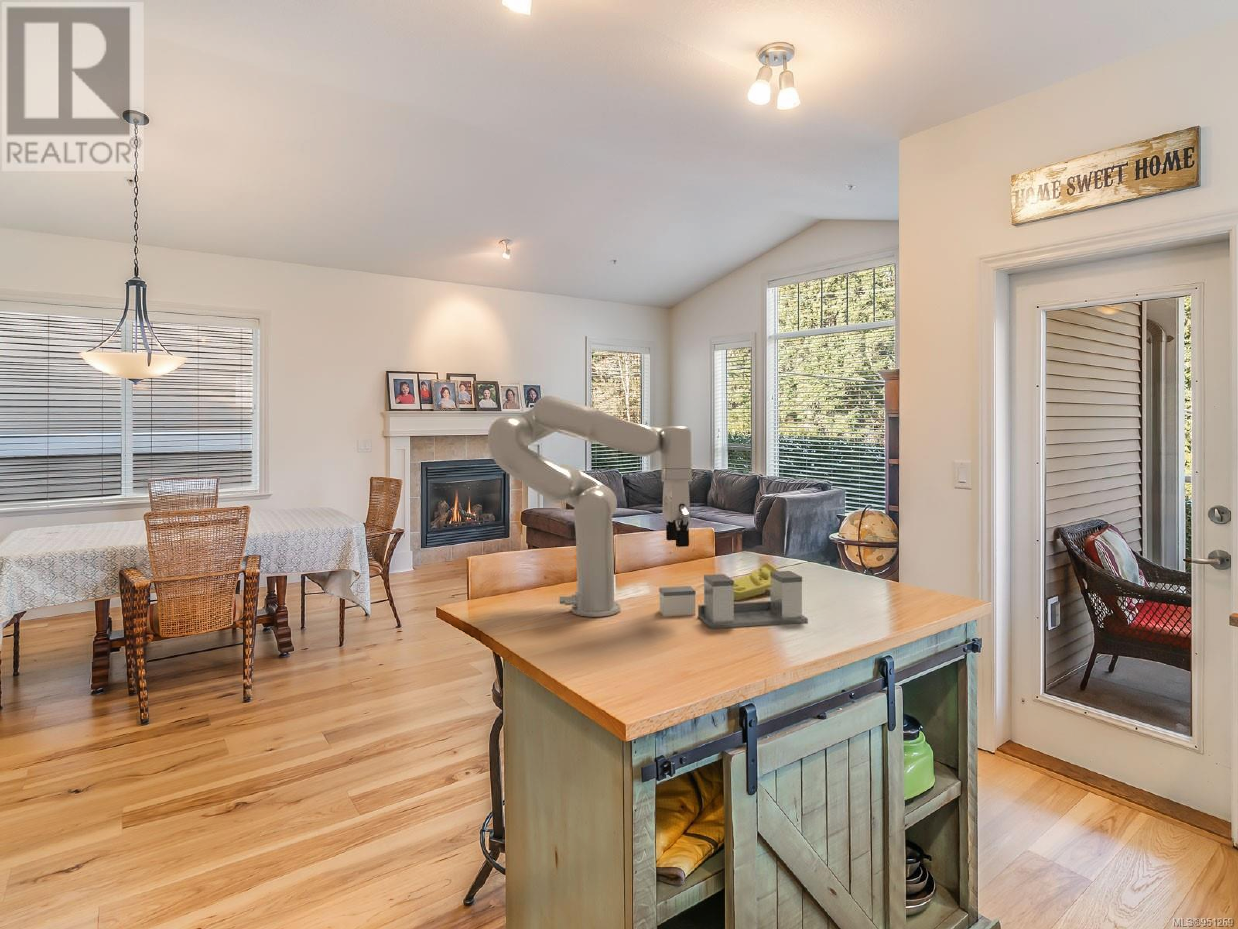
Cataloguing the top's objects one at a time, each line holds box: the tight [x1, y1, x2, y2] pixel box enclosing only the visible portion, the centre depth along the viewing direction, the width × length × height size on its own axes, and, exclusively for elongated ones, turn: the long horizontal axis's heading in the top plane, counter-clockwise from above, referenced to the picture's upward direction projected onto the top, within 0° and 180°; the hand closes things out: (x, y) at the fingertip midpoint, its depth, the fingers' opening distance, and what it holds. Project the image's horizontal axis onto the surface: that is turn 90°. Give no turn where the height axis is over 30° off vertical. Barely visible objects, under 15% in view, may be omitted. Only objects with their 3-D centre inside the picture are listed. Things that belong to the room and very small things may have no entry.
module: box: [658, 585, 696, 617], centre depth 167 cm, size 8×5×6 cm, turn 99°
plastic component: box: [733, 562, 779, 601], centre depth 187 cm, size 20×7×10 cm
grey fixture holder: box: [697, 570, 809, 630], centre depth 160 cm, size 24×10×11 cm, turn 99°
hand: (677, 543), depth 166 cm, fingers open, 9 cm apart
